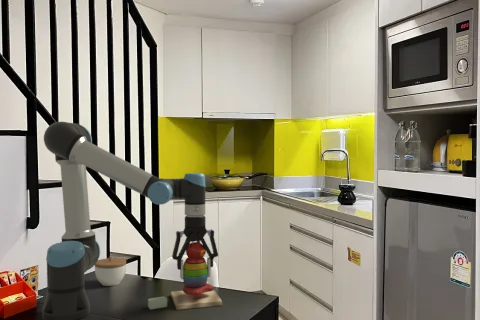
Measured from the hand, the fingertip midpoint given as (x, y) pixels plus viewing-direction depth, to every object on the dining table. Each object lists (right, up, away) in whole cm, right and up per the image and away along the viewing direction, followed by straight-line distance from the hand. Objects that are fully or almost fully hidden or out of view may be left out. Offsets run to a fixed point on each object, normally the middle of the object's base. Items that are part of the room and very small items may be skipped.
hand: (195, 277), depth 166 cm
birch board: (0, -8, 0) cm, 8 cm away
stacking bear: (0, -5, 0) cm, 5 cm away
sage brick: (-13, -9, -6) cm, 17 cm away
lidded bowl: (-37, -8, +22) cm, 44 cm away
